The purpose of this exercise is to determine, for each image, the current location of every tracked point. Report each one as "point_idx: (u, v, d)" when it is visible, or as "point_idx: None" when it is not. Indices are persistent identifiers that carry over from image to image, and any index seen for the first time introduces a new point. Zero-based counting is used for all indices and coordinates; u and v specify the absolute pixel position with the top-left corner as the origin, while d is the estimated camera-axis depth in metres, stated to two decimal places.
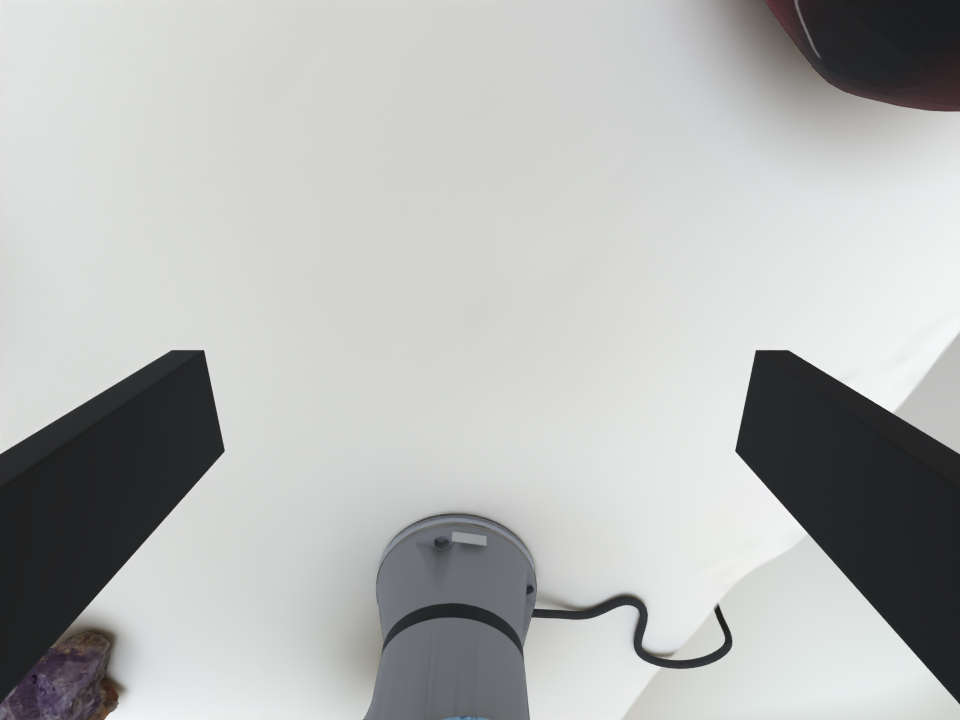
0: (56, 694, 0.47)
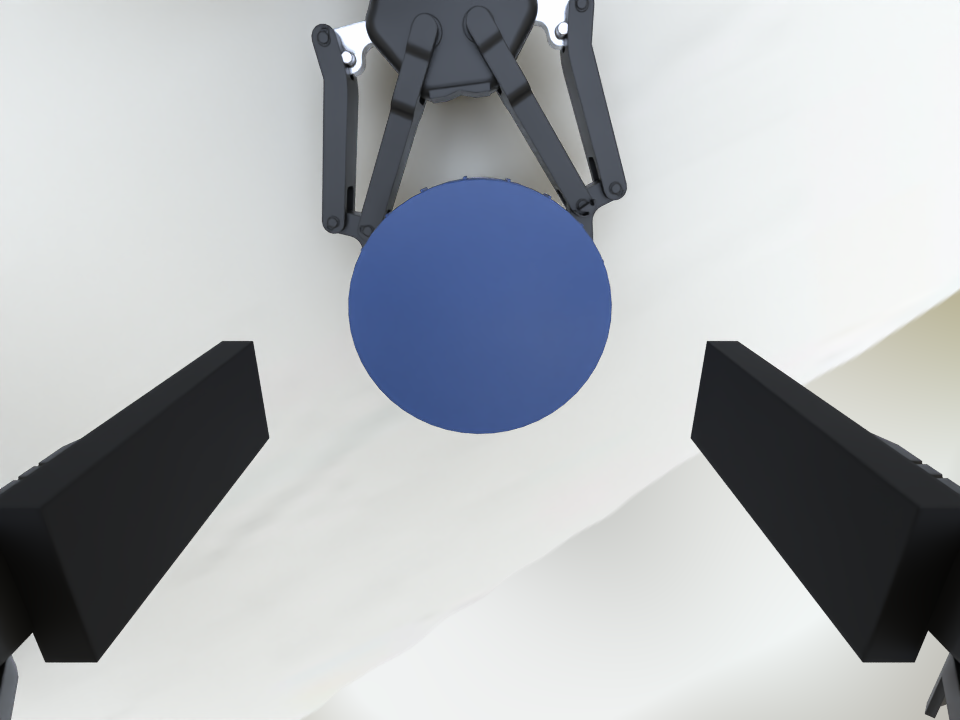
0: None
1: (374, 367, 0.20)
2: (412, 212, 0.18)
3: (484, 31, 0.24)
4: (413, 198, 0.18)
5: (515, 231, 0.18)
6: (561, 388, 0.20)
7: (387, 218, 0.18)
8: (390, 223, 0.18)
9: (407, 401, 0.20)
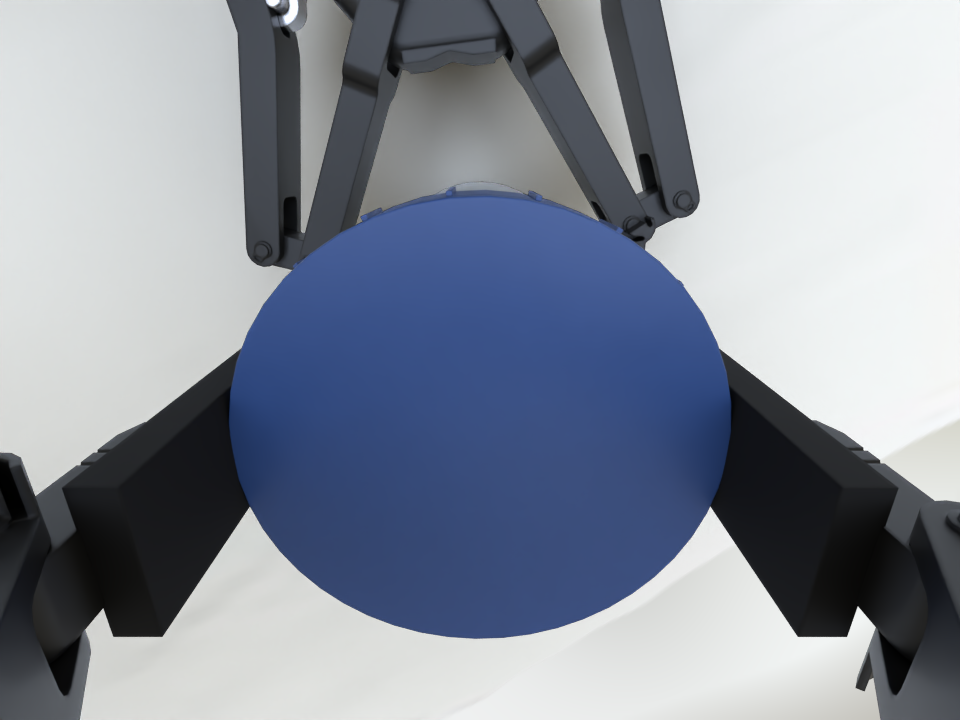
0: None
1: (286, 537, 0.11)
2: (343, 262, 0.09)
3: None
4: (344, 234, 0.09)
5: (551, 299, 0.09)
6: (627, 570, 0.11)
7: (293, 274, 0.09)
8: (299, 284, 0.09)
9: (350, 590, 0.11)
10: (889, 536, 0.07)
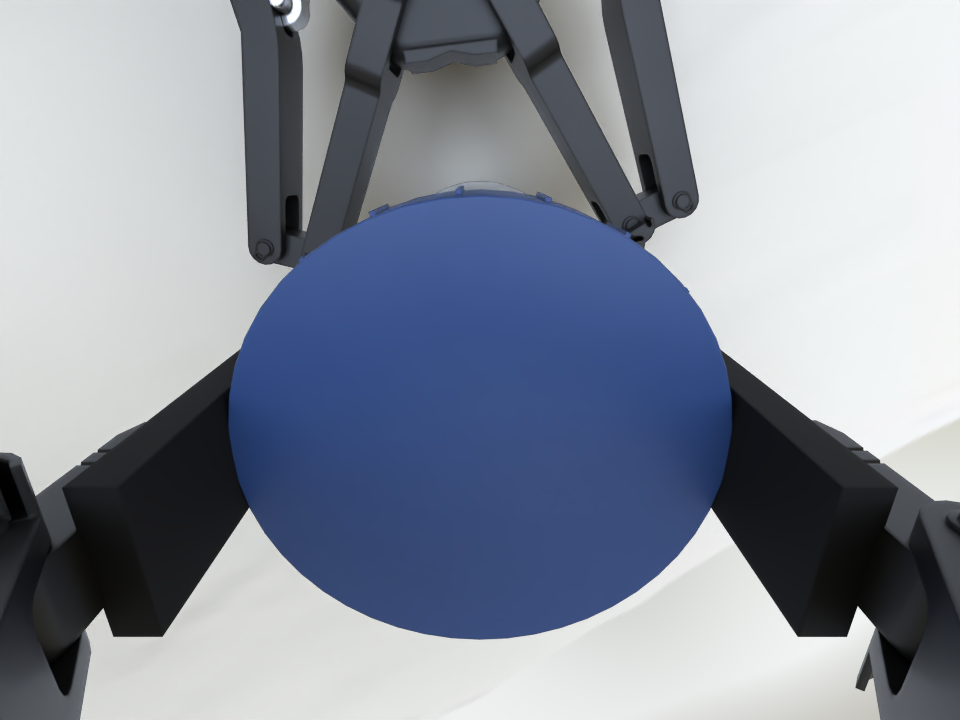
0: None
1: (617, 589, 0.11)
2: (343, 586, 0.11)
3: None
4: (323, 588, 0.11)
5: (305, 442, 0.10)
6: (590, 258, 0.09)
7: (365, 613, 0.12)
8: (371, 609, 0.11)
9: (675, 531, 0.11)
10: (889, 536, 0.07)
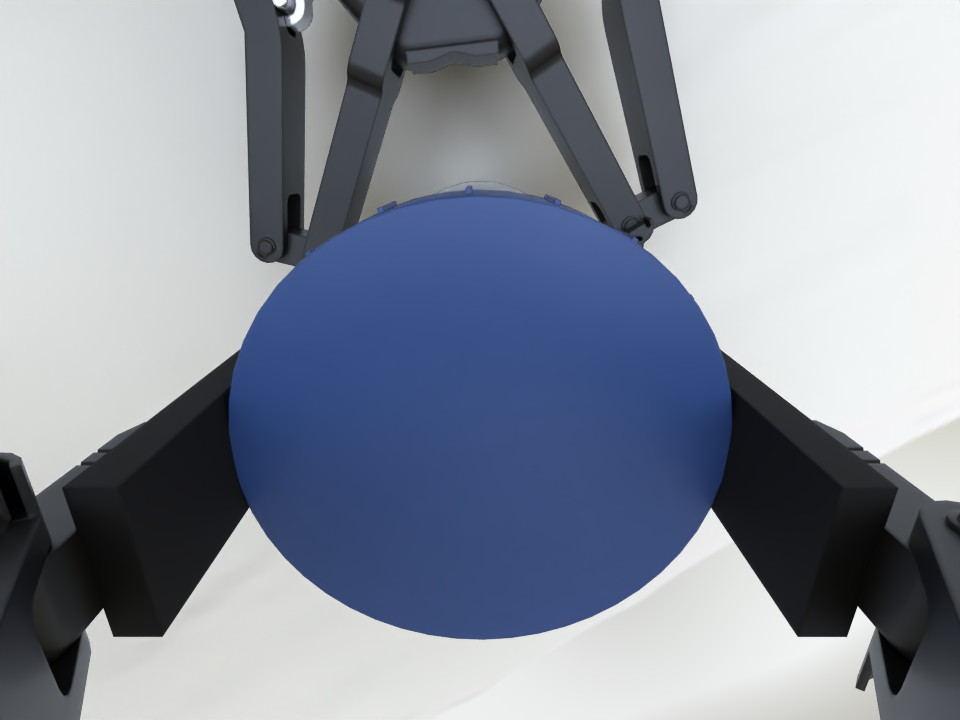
0: None
1: (622, 261, 0.09)
2: (670, 538, 0.11)
3: None
4: (676, 552, 0.11)
5: (508, 588, 0.11)
6: (259, 423, 0.10)
7: (705, 513, 0.11)
8: (697, 509, 0.11)
9: (517, 224, 0.08)
10: (889, 537, 0.07)
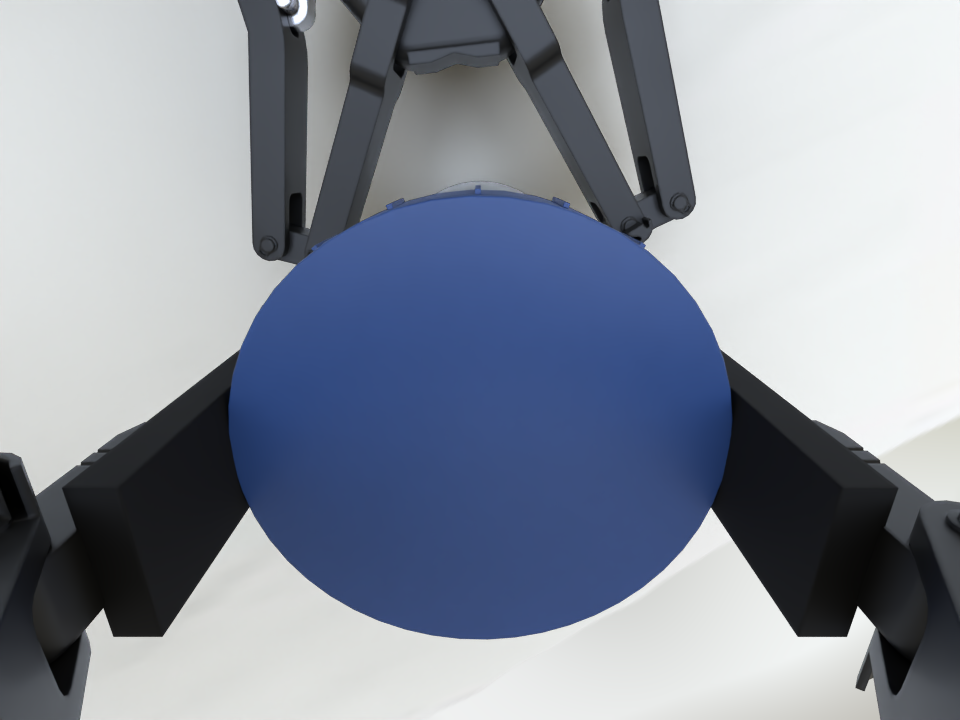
0: None
1: (248, 399, 0.10)
2: (528, 227, 0.08)
3: None
4: (549, 207, 0.08)
5: (643, 385, 0.10)
6: (501, 619, 0.12)
7: (480, 199, 0.08)
8: (477, 211, 0.08)
9: (260, 484, 0.10)
10: (889, 537, 0.07)
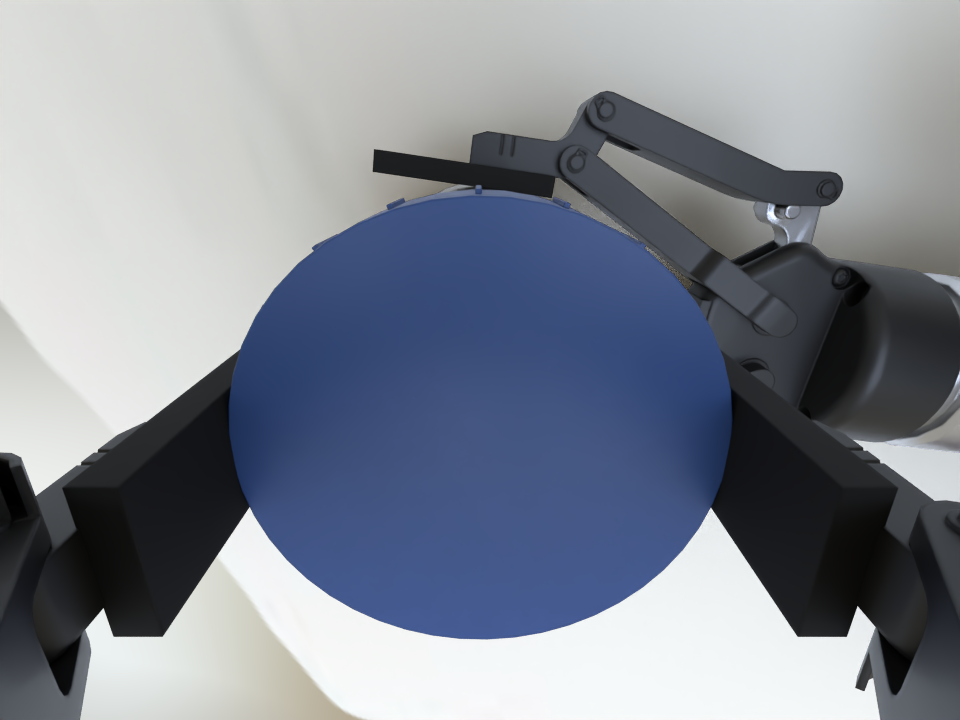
0: None
1: (248, 399, 0.10)
2: (528, 227, 0.08)
3: None
4: (550, 207, 0.08)
5: (643, 385, 0.10)
6: (501, 619, 0.12)
7: (481, 199, 0.08)
8: (478, 211, 0.08)
9: (260, 483, 0.10)
10: (889, 537, 0.07)
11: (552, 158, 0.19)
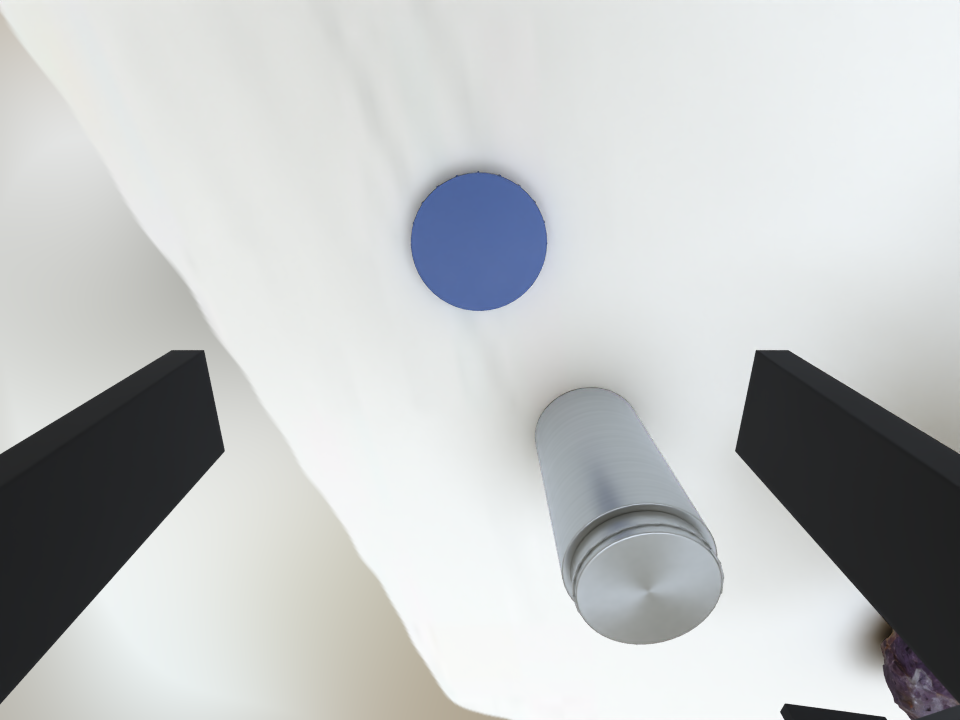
0: None
1: (417, 227, 0.37)
2: (490, 180, 0.35)
3: None
4: (495, 175, 0.35)
5: (521, 223, 0.36)
6: (485, 302, 0.39)
7: (478, 174, 0.35)
8: (478, 176, 0.35)
9: (418, 254, 0.37)
10: None
11: None
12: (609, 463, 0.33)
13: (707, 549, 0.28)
